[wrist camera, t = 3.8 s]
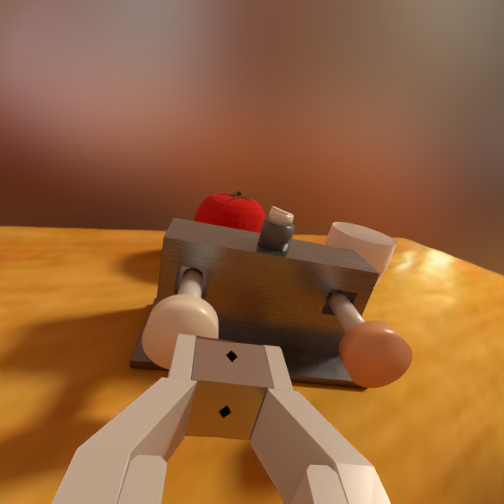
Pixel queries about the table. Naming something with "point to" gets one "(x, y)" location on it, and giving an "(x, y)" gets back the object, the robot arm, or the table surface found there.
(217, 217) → the tomato
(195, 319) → the knob
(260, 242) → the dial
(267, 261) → the mount
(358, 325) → the knob
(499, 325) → the table surface
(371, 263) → the cup
